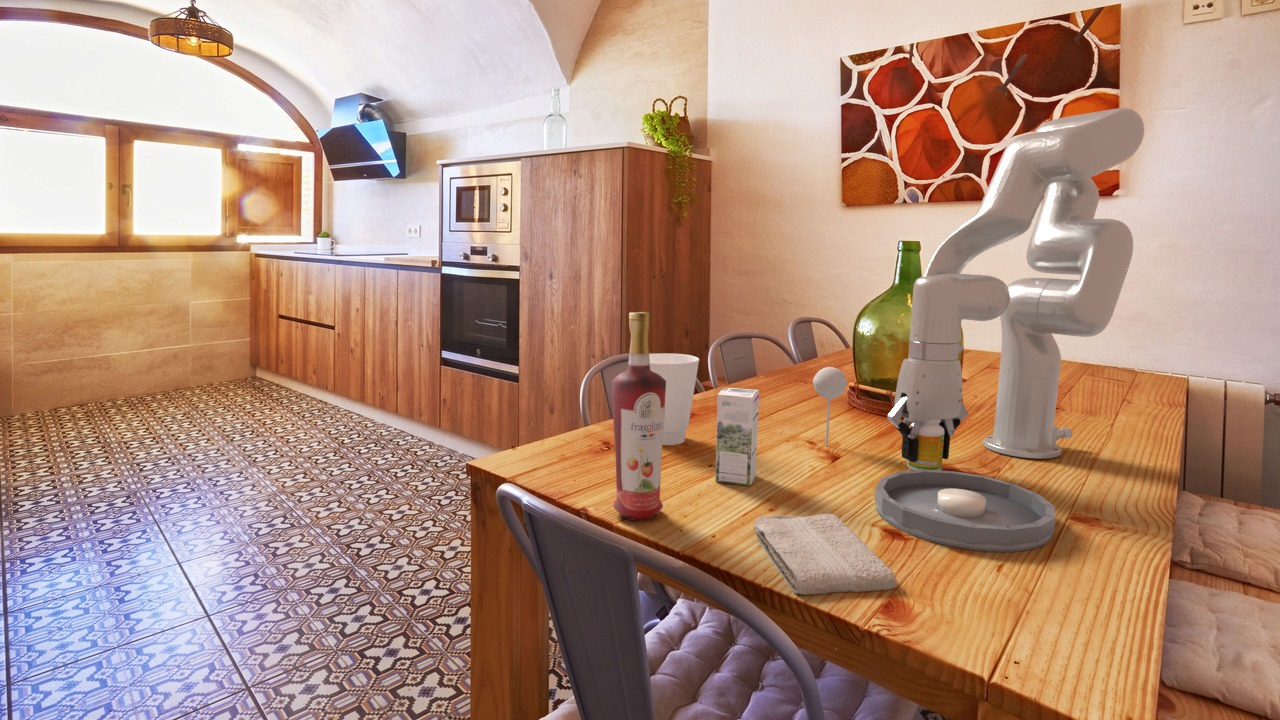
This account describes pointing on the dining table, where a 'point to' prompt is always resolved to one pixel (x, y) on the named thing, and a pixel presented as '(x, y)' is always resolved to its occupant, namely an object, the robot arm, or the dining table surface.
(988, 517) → the ring tray
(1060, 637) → the dining table surface
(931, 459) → the supplement bottle
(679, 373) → the cup
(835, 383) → the lollipop
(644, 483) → the liquor
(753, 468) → the syrup box
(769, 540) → the washcloth
